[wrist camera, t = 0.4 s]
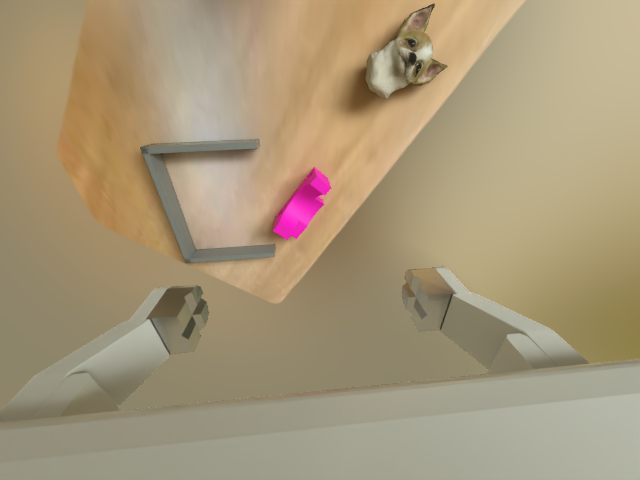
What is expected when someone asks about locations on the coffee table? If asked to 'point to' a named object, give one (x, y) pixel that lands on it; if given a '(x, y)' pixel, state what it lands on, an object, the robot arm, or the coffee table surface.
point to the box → (174, 210)
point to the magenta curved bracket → (302, 205)
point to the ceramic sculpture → (404, 58)
